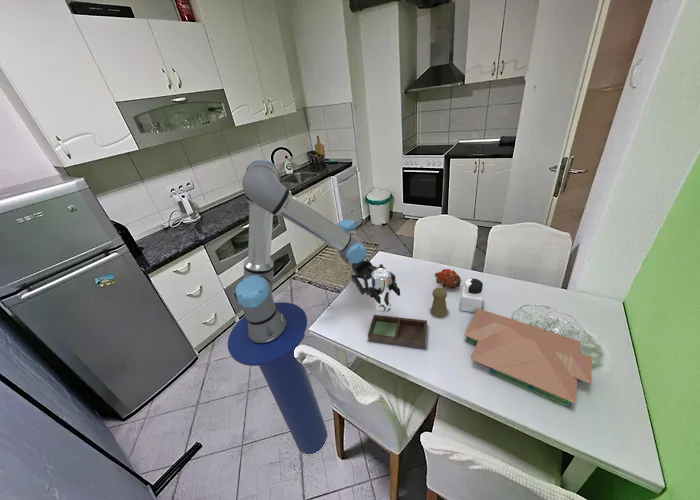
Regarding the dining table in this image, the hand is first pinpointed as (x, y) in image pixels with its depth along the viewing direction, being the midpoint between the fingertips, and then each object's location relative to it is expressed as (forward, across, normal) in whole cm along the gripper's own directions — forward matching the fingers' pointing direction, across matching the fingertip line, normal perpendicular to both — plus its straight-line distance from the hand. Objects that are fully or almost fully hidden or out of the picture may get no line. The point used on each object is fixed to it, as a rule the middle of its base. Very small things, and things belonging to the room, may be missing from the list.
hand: (389, 296), depth 93 cm
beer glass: (-5, 0, -9) cm, 10 cm away
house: (+29, -30, -18) cm, 45 cm away
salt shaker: (0, -21, -18) cm, 28 cm away
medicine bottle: (+4, -34, -18) cm, 38 cm away
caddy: (+1, -2, -18) cm, 18 cm away
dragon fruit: (-11, -34, -18) cm, 40 cm away
